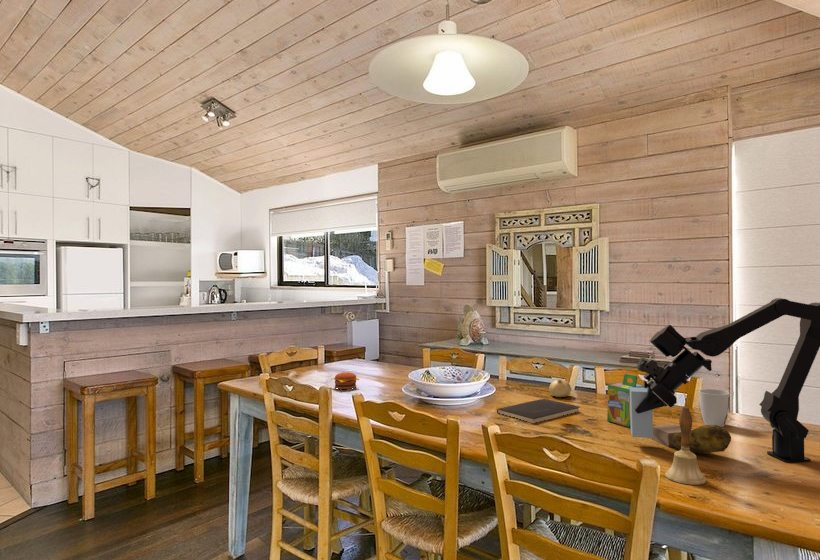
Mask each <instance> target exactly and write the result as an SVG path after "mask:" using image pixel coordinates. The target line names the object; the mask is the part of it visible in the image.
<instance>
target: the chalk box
mask: <svg viewBox="0 0 820 560" xmlns="http://www.w3.org/2000/svg"><path fill="white" fill-rule="evenodd" d="M628 379H631V380H632V382H628ZM637 380H638V375H634V374H629V373H624V374H623V378H622V382H620V383H619V382H618V383H612V384H607V408H606V409H607V410H606V412H607V415H606V416H607V418H606V421H607V422H609V423H614V424H617V425H621V426H623V427H626V428H629V429H631V423H630V388H644V384H638V383H637Z"/></svg>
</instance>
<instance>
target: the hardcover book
mask: <svg viewBox="0 0 820 560" xmlns="http://www.w3.org/2000/svg"><path fill="white" fill-rule="evenodd" d="M580 408H581V406H580V405H579V406H578V405H574V404H571V403H566V402H561V401H557V400H552V399H547V398H541V399H540V398H539V399H535V400H532V401H527V402H522V403H516V404H513V405H507V406H503V407H500V408H497V409H496V414H497V413H500V414H499V415H502V414H504V415H503V416H505V415H507V416H506V417H509V416H511V417H510V418H512V417H515V418H514V419H516V418H518V419H517V420H519V419H521V420H520V421H523V420H524V421H523V422H526V421H527V423H530V424H536V422H537V423H540V421H541V422H543V421H544V420H545V421H547V420H551V419H556V418H560V417H564V416H568V415H572V414H575V412H576V413H578V412H580V410H579V409H580ZM571 413H572V414H571ZM567 414H568V415H567ZM563 415H564V416H563Z"/></svg>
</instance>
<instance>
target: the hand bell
mask: <svg viewBox="0 0 820 560" xmlns="http://www.w3.org/2000/svg"><path fill="white" fill-rule="evenodd" d="M692 417H693V416H692V413H691V411H690V407H689V406H682V409H681V411H680V414H679V419H678V421H679V426H680V429H681V433H682V443H681V450H680V449H679V450H677V451H675V452H674V454H673V461H672V464H671V466H670V467H669V469H667V470H666V471H665V472H664V473H665V474H664V476H665V477H666V478H667V479H669V480H670V481H673V482H675V483H679V484H685V485H691V486H695V485H697V486H699V485H704V484H706V483H707V478H706V476H705V475H704V474H703V473H702V471H701V470H700V468H699V464H698V458H697V455H696V453H694V452H690V448H689V447H690V439H689V436H690V432H691V430H693V429H692V428H693V418H692Z"/></svg>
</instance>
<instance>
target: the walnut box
mask: <svg viewBox="0 0 820 560" xmlns="http://www.w3.org/2000/svg"><path fill="white" fill-rule="evenodd" d="M679 432H681V429H680V425H677V424H675V423H672V424H671V423H670V424H658V425H657V424H656V425H653V438H651V440H652V441H654V442H656V443H659V444H660V445H663V446H665V447H667V448H676V447H675V446H674V445H673V444H672V438H673V436H674V435H675V434H676V433H679Z"/></svg>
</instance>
